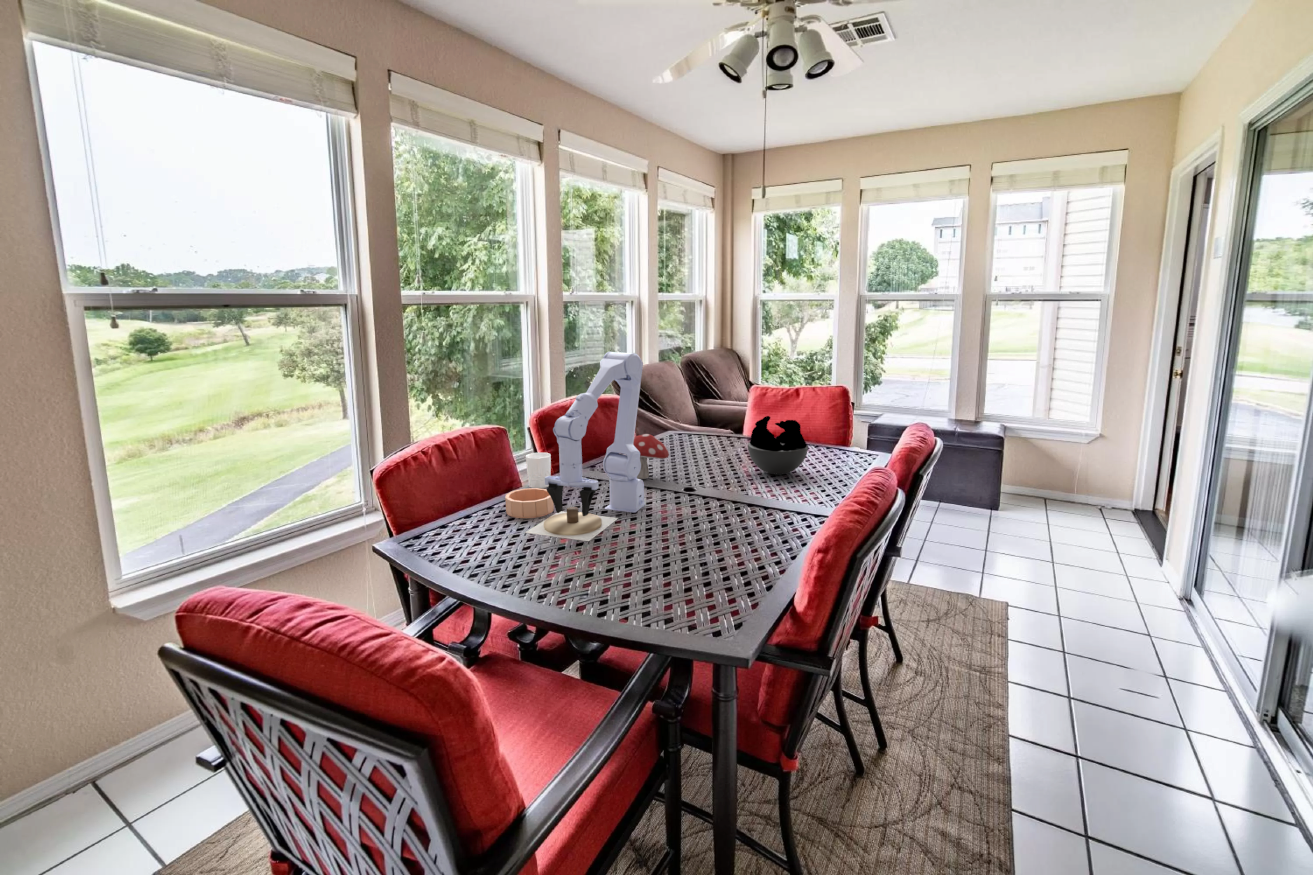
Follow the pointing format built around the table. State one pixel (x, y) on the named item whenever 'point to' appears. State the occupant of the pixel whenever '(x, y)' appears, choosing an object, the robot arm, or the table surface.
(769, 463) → the coal bowl
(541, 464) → the white cup
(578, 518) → the oak lid
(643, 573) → the table surface
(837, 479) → the table surface
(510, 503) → the terracotta bowl
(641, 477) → the decorative mushroom
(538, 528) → the white square mat
